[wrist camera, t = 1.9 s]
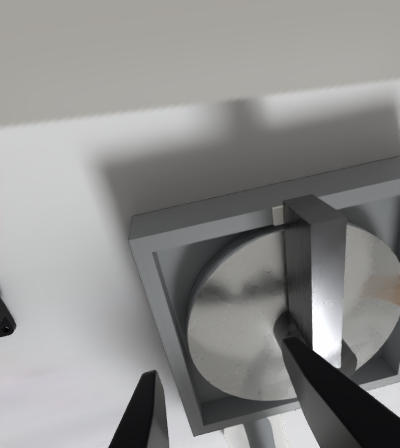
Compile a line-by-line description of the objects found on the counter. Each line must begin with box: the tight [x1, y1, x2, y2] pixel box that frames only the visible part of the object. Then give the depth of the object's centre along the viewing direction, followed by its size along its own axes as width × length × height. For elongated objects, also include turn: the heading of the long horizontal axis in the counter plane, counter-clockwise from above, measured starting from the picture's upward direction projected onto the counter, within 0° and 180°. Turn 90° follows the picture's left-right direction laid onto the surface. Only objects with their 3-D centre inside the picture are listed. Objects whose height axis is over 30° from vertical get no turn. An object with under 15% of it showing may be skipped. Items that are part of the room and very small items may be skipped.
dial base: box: [128, 156, 400, 437], centre depth 21 cm, size 18×18×4 cm
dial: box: [186, 194, 400, 401], centre depth 18 cm, size 17×15×5 cm
